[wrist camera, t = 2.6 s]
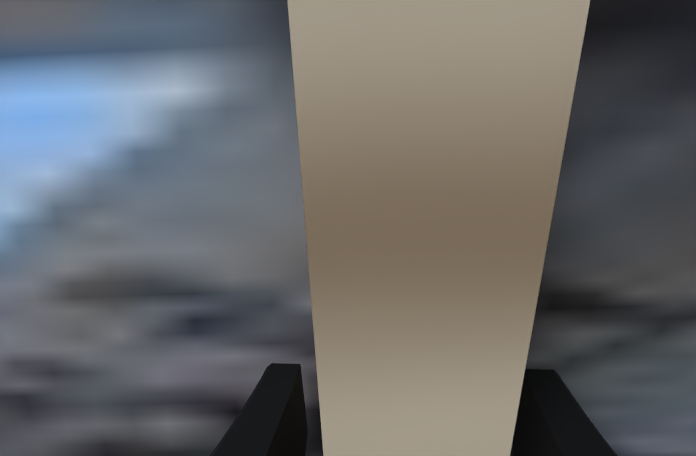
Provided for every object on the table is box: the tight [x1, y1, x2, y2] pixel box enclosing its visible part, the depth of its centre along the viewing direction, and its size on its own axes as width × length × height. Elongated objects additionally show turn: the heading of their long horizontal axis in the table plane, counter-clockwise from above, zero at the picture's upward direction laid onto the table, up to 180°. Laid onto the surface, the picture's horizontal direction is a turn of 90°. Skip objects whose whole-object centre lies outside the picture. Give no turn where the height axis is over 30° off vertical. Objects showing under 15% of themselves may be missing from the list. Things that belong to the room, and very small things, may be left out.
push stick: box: [288, 0, 590, 456], centre depth 8 cm, size 16×2×5 cm, turn 2°
